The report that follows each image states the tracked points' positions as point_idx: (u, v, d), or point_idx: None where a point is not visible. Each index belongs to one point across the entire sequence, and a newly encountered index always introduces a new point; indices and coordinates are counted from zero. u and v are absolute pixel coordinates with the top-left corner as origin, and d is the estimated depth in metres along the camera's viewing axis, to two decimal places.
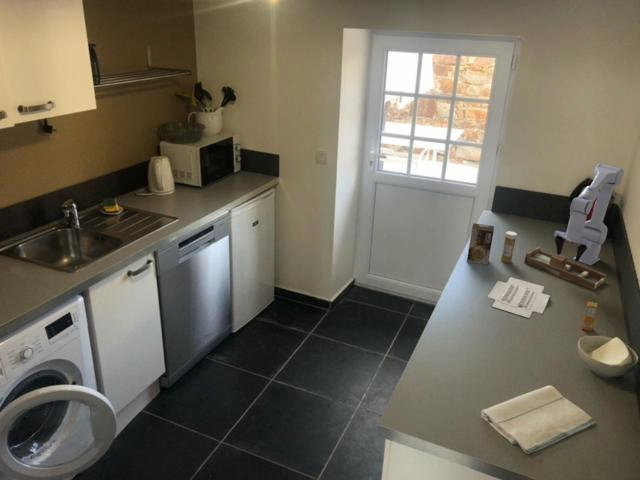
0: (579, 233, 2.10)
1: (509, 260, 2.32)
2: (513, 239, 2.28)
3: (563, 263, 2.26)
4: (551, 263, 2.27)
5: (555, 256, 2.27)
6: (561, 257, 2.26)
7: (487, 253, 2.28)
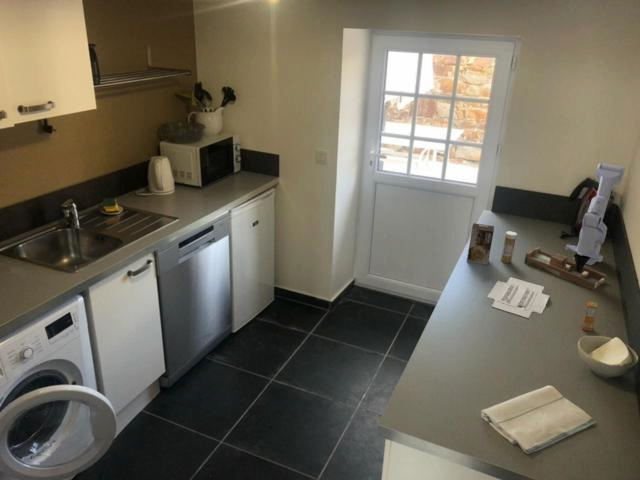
0: (590, 247, 2.14)
1: (509, 260, 2.32)
2: (513, 239, 2.28)
3: (563, 263, 2.26)
4: (551, 263, 2.27)
5: (555, 256, 2.27)
6: (561, 257, 2.26)
7: (487, 253, 2.28)
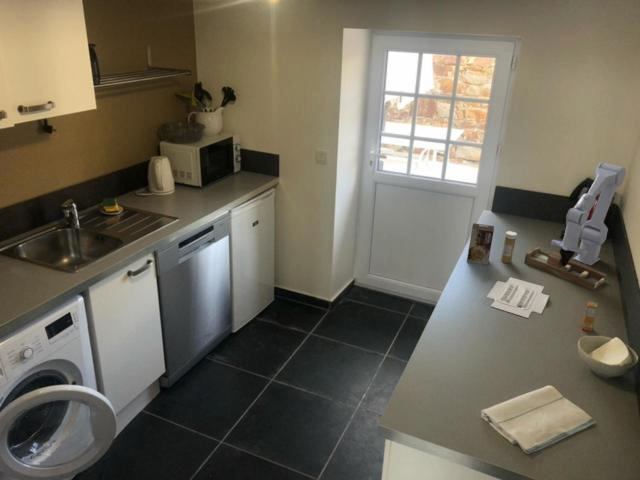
0: (575, 242, 2.18)
1: (509, 260, 2.32)
2: (513, 239, 2.28)
3: (561, 262, 2.26)
4: (548, 262, 2.28)
5: (552, 255, 2.28)
6: (558, 256, 2.27)
7: (487, 253, 2.28)
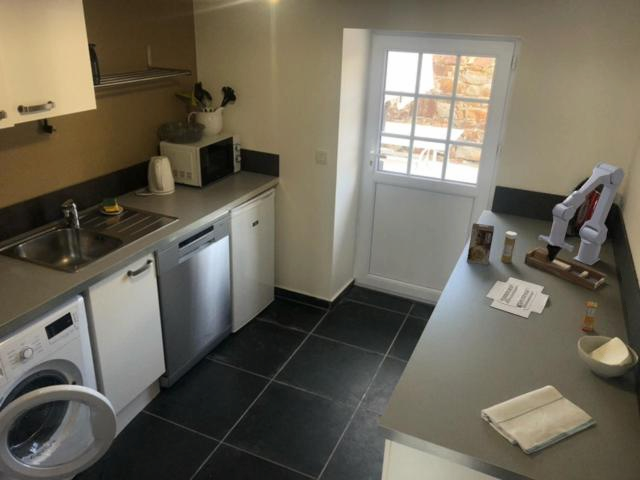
0: (561, 237, 2.22)
1: (509, 260, 2.32)
2: (513, 239, 2.28)
3: (548, 257, 2.30)
4: (535, 257, 2.32)
5: (540, 250, 2.31)
6: (545, 252, 2.30)
7: (487, 253, 2.28)
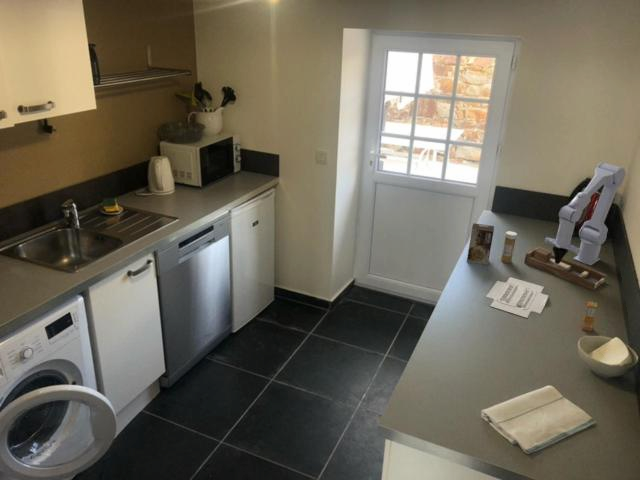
0: (568, 240, 2.21)
1: (509, 260, 2.32)
2: (513, 239, 2.28)
3: (548, 257, 2.30)
4: (535, 257, 2.32)
5: (540, 250, 2.31)
6: (545, 252, 2.30)
7: (487, 253, 2.28)
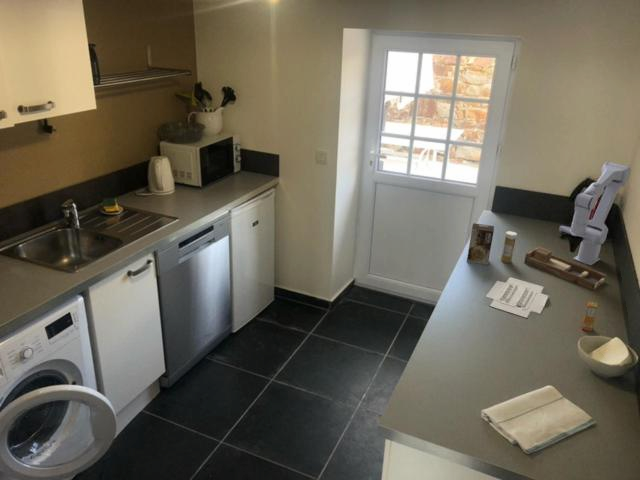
0: (583, 228, 2.17)
1: (509, 260, 2.32)
2: (513, 239, 2.28)
3: (548, 257, 2.30)
4: (535, 257, 2.32)
5: (540, 250, 2.31)
6: (545, 252, 2.30)
7: (487, 253, 2.28)
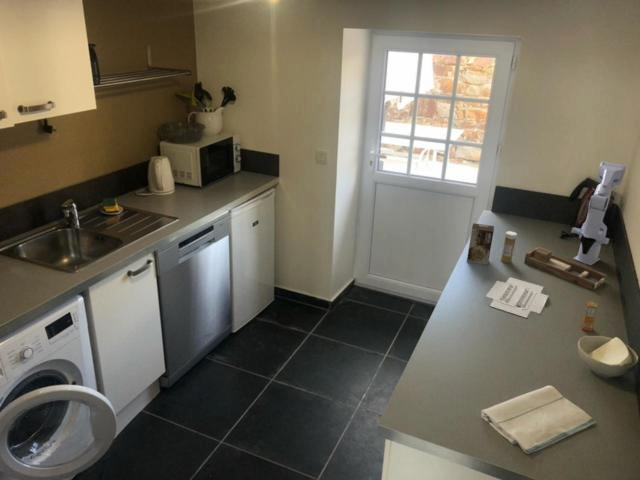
0: (596, 229, 2.15)
1: (509, 260, 2.32)
2: (513, 239, 2.28)
3: (548, 257, 2.30)
4: (535, 257, 2.32)
5: (540, 250, 2.31)
6: (545, 252, 2.30)
7: (487, 253, 2.28)
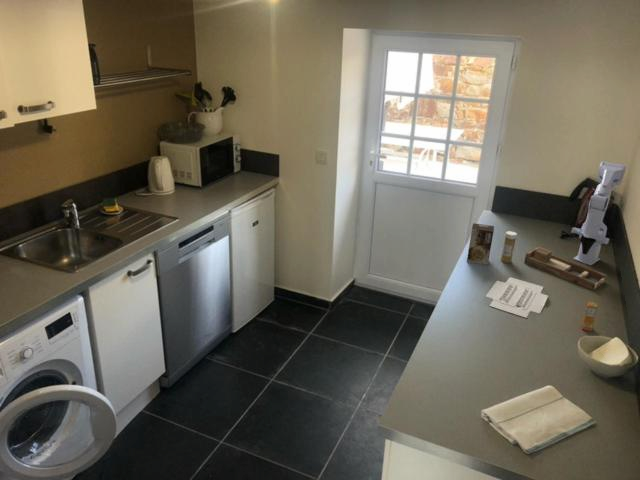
0: (596, 229, 2.15)
1: (509, 260, 2.32)
2: (513, 239, 2.28)
3: (548, 257, 2.30)
4: (535, 257, 2.32)
5: (540, 250, 2.31)
6: (545, 252, 2.30)
7: (487, 253, 2.28)
